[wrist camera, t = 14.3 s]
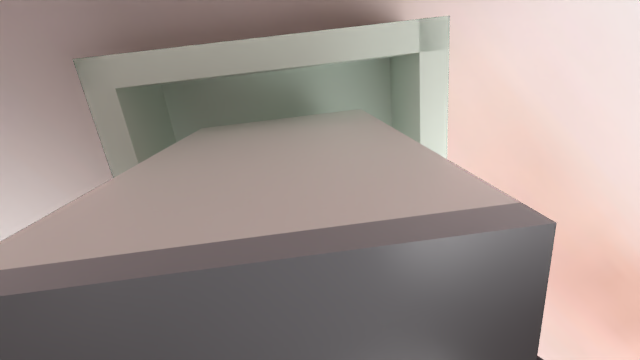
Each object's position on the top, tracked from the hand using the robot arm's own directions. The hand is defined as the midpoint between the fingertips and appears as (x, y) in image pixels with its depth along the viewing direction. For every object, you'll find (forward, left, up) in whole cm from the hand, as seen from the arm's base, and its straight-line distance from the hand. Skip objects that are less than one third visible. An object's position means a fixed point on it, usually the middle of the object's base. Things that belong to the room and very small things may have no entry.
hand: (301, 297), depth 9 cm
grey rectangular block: (0, 0, -3) cm, 3 cm away
